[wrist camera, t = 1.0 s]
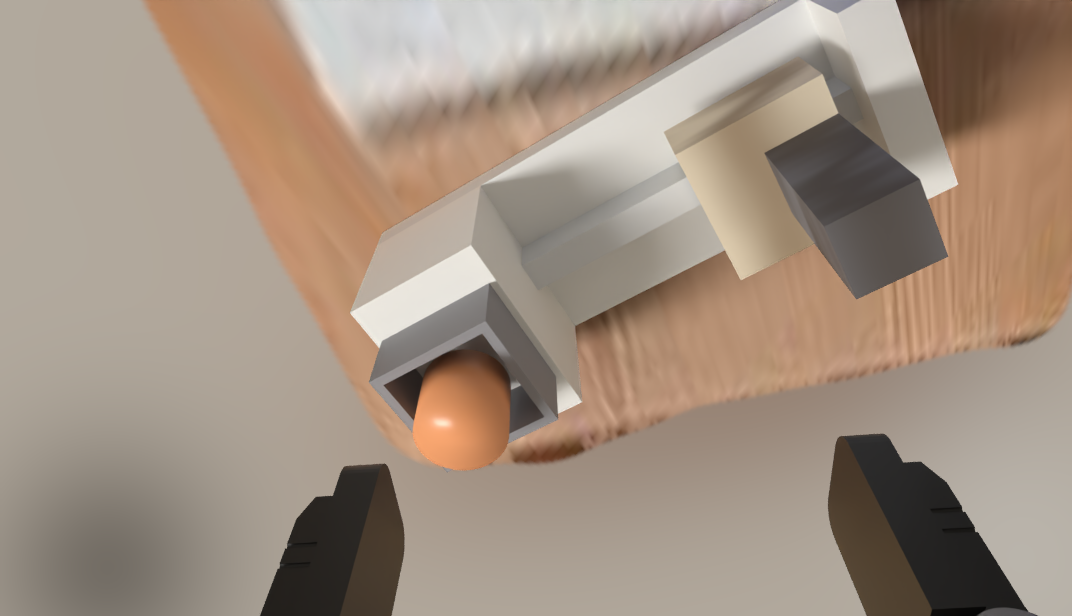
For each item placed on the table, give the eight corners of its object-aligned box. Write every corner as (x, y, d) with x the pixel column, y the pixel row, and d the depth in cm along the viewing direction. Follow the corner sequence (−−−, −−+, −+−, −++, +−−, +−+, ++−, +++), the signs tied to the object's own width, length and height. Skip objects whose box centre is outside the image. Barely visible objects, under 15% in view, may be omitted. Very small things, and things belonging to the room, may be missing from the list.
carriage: (785, 47, 32) (902, 130, 22) (837, 171, 35) (962, 296, 25) (657, 119, 34) (712, 229, 24) (717, 233, 37) (788, 375, 26)
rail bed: (837, -34, 33) (963, 8, 23) (906, 153, 37) (1037, 253, 27) (382, 232, 39) (333, 352, 29) (485, 367, 43) (472, 510, 33)
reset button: (479, 335, 30) (474, 379, 27) (527, 398, 32) (527, 446, 29) (404, 373, 31) (393, 420, 28) (454, 433, 32) (448, 483, 30)
